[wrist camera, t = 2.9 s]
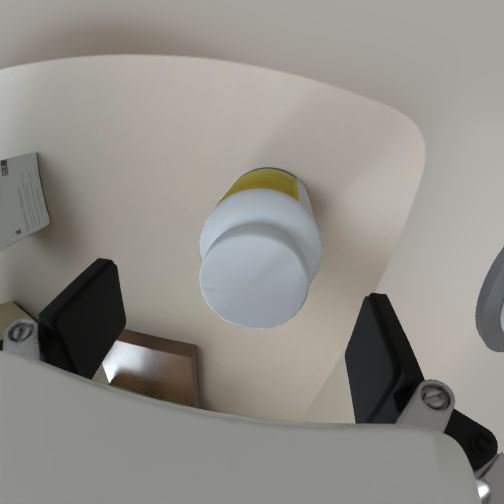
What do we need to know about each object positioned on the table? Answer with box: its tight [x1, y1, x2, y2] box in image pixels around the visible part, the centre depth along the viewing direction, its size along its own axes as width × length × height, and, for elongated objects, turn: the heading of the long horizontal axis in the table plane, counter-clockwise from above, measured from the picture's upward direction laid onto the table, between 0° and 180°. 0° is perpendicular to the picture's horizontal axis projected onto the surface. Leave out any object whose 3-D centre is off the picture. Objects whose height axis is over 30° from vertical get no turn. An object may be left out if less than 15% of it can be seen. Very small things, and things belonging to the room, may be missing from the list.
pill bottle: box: [199, 167, 322, 329], centre depth 18 cm, size 6×6×12 cm
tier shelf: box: [102, 329, 200, 409], centre depth 32 cm, size 12×27×9 cm, turn 175°
